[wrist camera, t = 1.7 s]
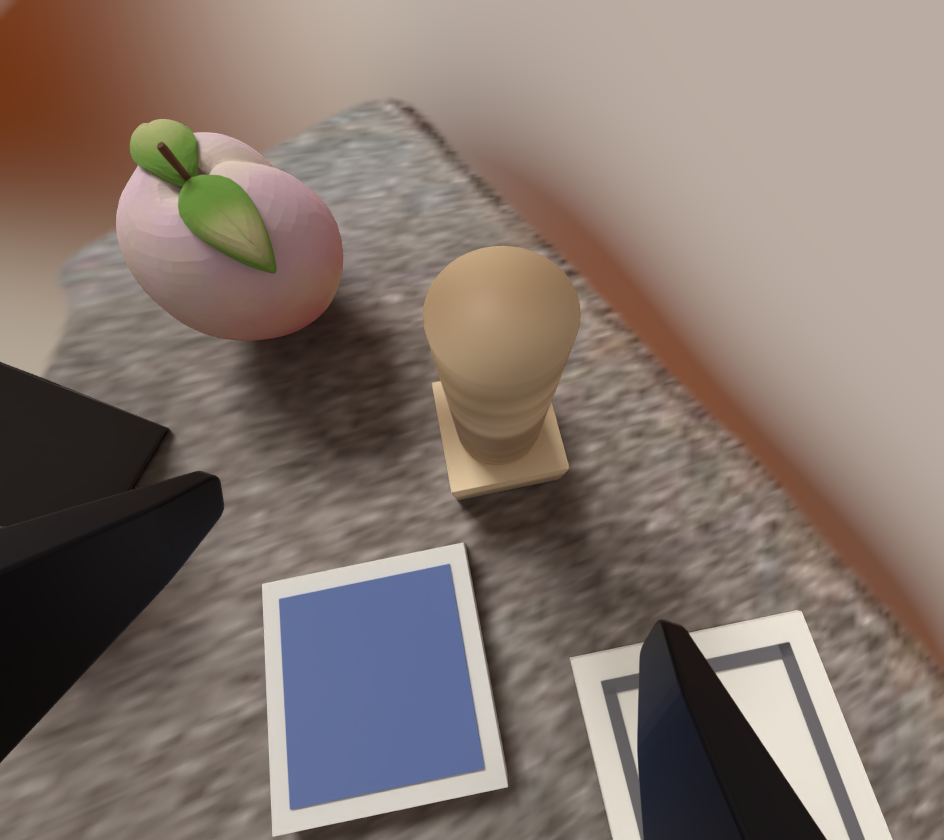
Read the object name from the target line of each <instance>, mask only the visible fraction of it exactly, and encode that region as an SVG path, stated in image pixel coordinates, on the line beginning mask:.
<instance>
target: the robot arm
mask: <svg viewBox="0 0 944 840" xmlns="http://www.w3.org/2000/svg"><path fill="white" fill-rule="evenodd" d="M223 510H224V501H223V494H222V488H221V482H220V479H219V478H218V477H217V476H215V475H212V474H209V473H206V472H203V471H196V472H192V473H189V474H185V475H182V476H178V477H175V478H171V479H168V480H165V481H161V482H158V483H154V484H151V485H148V486H144V487H141V488H137V489H134V490H130V491H127V492H124V493H120V494H117V495H113V496H110V497H106V498H103V499H100V500H96V501H93V502H89V503H86V504H83V505H79V506H76V507H72V508H69V509H65V510H62V511H59V512H55V513H52V514H48V515H45V516H41V517H38V518H35V519H31V520H28V521H24V522H21V523H17V524H14V525H11V526H7V527H4V528H0V763H1V762H2V761H3V759H4V758H5V757H6V756H7V755H8V754H9V753H10V752H11V751H12V750H13V749H14V748H15V747H16V746H17V745H18V743H19V742H20V741H21V740H22V739H23V738H24V737H25V736H26V735H27V734H28V733H29V732H30V731H31V730H32V728H33V727H34V726H35V725H36V724H37V723H38V722H39V721H40V720H41V719H42V718H43V717H44V716H45V715H46V714H47V712H48V711H49V710H50V709H51V708H52V707H53V706H54V705H55V704H56V703H57V702H58V701H59V700H60V699H61V697H62V696H63V695H64V694H65V693H66V692H67V691H68V690H69V689H70V688H71V687H72V686H73V685H74V684H75V682H76V681H77V680H78V679H79V678H80V677H81V676H82V675H83V674H84V673H85V672H86V671H87V670H88V669H89V668H90V666H91V665H92V664H93V663H94V662H95V661H96V660H97V659H98V658H99V657H100V656H101V655H102V654H103V653H104V651H105V650H106V649H107V648H108V647H109V646H110V645H111V644H112V643H113V642H114V641H115V640H116V639H117V638H118V636H119V635H120V634H121V633H122V632H123V631H124V630H125V629H126V628H127V627H128V626H129V625H130V624H131V623H132V622H133V620H134V619H135V618H136V617H137V616H138V615H139V614H140V613H141V612H142V611H143V610H144V609H145V608H146V607H147V605H148V604H149V603H150V602H151V601H152V600H153V599H154V598H155V597H156V596H157V595H158V594H159V593H160V592H161V590H162V589H163V588H164V587H165V586H166V585H167V584H168V583H169V582H170V580H171V579H172V578H173V577H174V576H175V574H176V573H177V572H178V571H179V570H180V568H181V567H182V566H183V564H184V563H185V562H186V561H187V559H188V558H189V557H190V556H191V554H192V553H193V552H194V550H195V549H196V548H197V547H198V545H199V544H200V543H201V541H202V540H203V539H204V538H205V536H206V535H207V534H208V532H209V531H210V530H211V529H212V527H213V526H214V525H215V523H216V522H217V521H218V520H219V518H220V517H221V515H222V513H223ZM637 757H638V773H639V786H640V800H641V813H642V826H643V840H827V839H826V837H825V836H824V834H823V833H822V831H821V830H820V828H819V827H818V825H817V824H816V822H815V821H814V819H813V818H812V816H811V815H810V813H809V812H808V811H807V809H806V808H805V806H804V805H803V803H802V802H801V800H800V799H799V797H798V796H797V794H796V793H795V791H794V790H793V788H792V787H791V785H790V784H789V782H788V781H787V779H786V778H785V776H784V775H783V773H782V772H781V770H780V769H779V767H778V766H777V764H776V763H775V761H774V760H773V758H772V757H771V755H770V754H769V752H768V751H767V749H766V748H765V746H764V745H763V743H762V742H761V740H760V739H759V737H758V736H757V734H756V733H755V731H754V730H753V728H752V727H751V725H750V724H749V722H748V721H747V719H746V718H745V716H744V715H743V713H742V712H741V710H740V709H739V707H738V706H737V704H736V703H735V701H734V700H733V698H732V697H731V696H730V694H729V693H728V691H727V690H726V688H725V687H724V685H723V684H722V682H721V681H720V679H719V678H718V676H717V675H716V673H715V672H714V670H713V669H712V667H711V666H710V664H709V663H708V661H707V660H706V658H705V657H704V655H703V654H702V652H701V651H700V649H699V648H698V646H697V645H696V643H695V642H694V640H693V639H692V637H691V636H690V634H689V633H688V631H687V630H686V629H685V628H684V627H683V626H681V625H679V624H676V623H672V622H669V621H666V620H659V621H657V622H656V624H655V625H654V627H653V629H652V630H651V632H650V633H649V635H648V637H647V638H646V640H645V642H644V643H643V645H642V648H641V651H640V657H639V689H638V725H637Z"/></svg>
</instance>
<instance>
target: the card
mask: <svg viewBox="0 0 944 840" xmlns="http://www.w3.org/2000/svg"><path fill="white" fill-rule="evenodd" d="M689 634H690V636H691V637H692V639H693V640H694V642H695V643H696V645H697V646H698V648H699V649H700V651H701V652H702V654H703V655H704V657H705V658H706V660H707V661H708V663H709V664H710V666H711V667H712V669H713V670H714V672H715V673H716V675H717V676H718V678H719V679H720V681H721V682H722V684H723V685H724V687H725V688H726V690H727V691H728V693H729V694H730V696H731V697H732V698H733V700H734V701H735V703H736V704H737V706H738V707H739V709H740V710H741V712H742V713H743V715H744V716H745V718H746V719H747V721H748V722H749V724H750V725H751V727H752V728H753V730H754V731H755V733H756V734H757V736H758V737H759V739H760V740H761V742H762V743H763V745H764V746H765V748H766V749H767V751H768V752H769V754H770V755H771V757H772V758H773V760H774V761H775V763H776V764H777V766H778V767H779V769H780V770H781V772H782V773H783V775H784V776H785V778H786V779H787V781H788V782H789V784H790V785H791V787H792V788H793V790H794V791H795V793H796V794H797V796H798V797H799V799H800V800H801V802H802V803H803V805H804V806H805V808H806V809H807V811H808V812H809V813H810V815H811V816H812V818H813V819H814V821H815V822H816V824H817V825H818V827H819V828H820V830H821V831H822V833H823V834H824V836H825V837H826V839H827V840H892V837H891V835H890V832H889V830H888V827H887V825H886V822H885V820H884V817H883V815H882V812H881V810H880V807H879V805H878V802H877V800H876V797H875V795H874V792H873V790H872V787H871V785H870V782H869V780H868V777H867V775H866V772H865V770H864V767H863V765H862V762H861V760H860V757H859V755H858V752H857V750H856V747H855V744H854V742H853V739H852V737H851V734H850V732H849V729H848V727H847V724H846V722H845V719H844V717H843V714H842V712H841V709H840V707H839V704H838V702H837V699H836V697H835V694H834V692H833V689H832V687H831V684H830V682H829V679H828V677H827V674H826V672H825V669H824V667H823V664H822V662H821V659H820V657H819V654H818V652H817V649H816V647H815V644H814V642H813V639H812V637H811V634H810V632H809V629H808V627H807V624H806V621H805V619H804V616H803V614H802V611H798V610H796V611H791V612H786V613H781V614H777V615H772V616H767V617H762V618H757V619H753V620H748V621H743V622H738V623H733V624H729V625H724V626H719V627H714V628H709V629H705V630H700V631H695V632H690V633H689ZM643 643H644V642H642V643H637V644H633V645H628V646H623V647H618V648H614V649H609V650H604V651H599V652H594V653H590V654H585V655H580V656H575V657H570V662H571V666H572V671H573V675H574V679H575V683H576V688H577V692H578V696H579V700H580V704H581V709H582V713H583V717H584V721H585V725H586V730H587V734H588V738H589V742H590V747H591V751H592V755H593V759H594V763H595V768H596V772H597V776H598V780H599V784H600V789H601V793H602V797H603V801H604V806H605V810H606V814H607V818H608V822H609V827H610V831H611V835H612V839H613V840H643V826H642V813H641V800H640V786H639V773H638V757H637V725H638V689H639V657H640V651H641V648H642V645H643Z"/></svg>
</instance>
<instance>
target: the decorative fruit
mask: <svg viewBox="0 0 944 840" xmlns="http://www.w3.org/2000/svg"><path fill="white" fill-rule="evenodd" d="M130 152H131V156H132V158H133V160H134V162H136V163H137V164H138V167H137V169H136V170H135V172H134V173H133V175H132V177H131V178H130V180H129V182H128V183H127V185H126V187H125V189H124V191H123V192H122V195H121V198H120V201H119V205H118V210H117V219H116V228H117V236H118V241H119V246H120V249H121V251H122V254H123V257H124V259H125V262H126V263H127V265H128V267H129V269H130V271H131V273H132V274H133V276H134V277H135V279H136V280H137V281H138V283H139V284H140V285H141V287H142V288H143V289H144V290H145V291H146V293H147V294H148V295H149V296H150V297H151V298H152V299H153V300H154V301H155V302H156V303H158V304H159V305H160V306H161V307H162V308H163V309H164V310H165V311H167V312H168V313H169V314H170V315H172V316H173V317H174V318H176V319H177V320H179V321H180V322H182V323H183V324H185V325H187V326H189V327H191V328H193V329H195V330H197V331H199V332H202V333H204V334H208V335H211V336H214V337H218V338H223V339H230V340H240V341H255V340H265V339H272V338H277V337H281V336H285V335H288V334H291V333H294V332H296V331H298V330H300V329H302V328H304V327H306V326H307V325H309V324H310V323H312V322H313V321H315V320H316V319H317V318H318V317H319V316H320V315H321V314H322V313H323V312H324V311H325V310H326V309H327V308H328V307H329V305H330V304H331V302H332V300H333V298H334V296H335V294H336V293H337V290H338V287H339V284H340V281H341V276H342V270H343V248H342V240H341V236H340V233H339V229H338V226H337V223H336V221H335V219H334V217H333V216H332V214H331V212H330V210H329V208H328V207H327V206H326V204H325V203H324V202H323V201H322V199H321V198H320V197H319V196H318V195H317V194H316V193H315V192H314V191H312V190H311V189H310V188H309V187H307V186H306V185H305V184H303V183H302V182H300V181H299V180H298V179H296V178H294V177H293V176H291V175H290V174H288V173H286V172H283V171H281V170H279V169H276V168H274V166H273V165H272V164H271V163H270V162H269V161H268V160H267V159H266V158H264V157H263V156H262V155H261V154H259V153H258V152H257V151H255V150H254V149H252V148H251V147H249V146H248V145H246V144H245V143H242V142H241V141H239V140H237V139H234V138H232V137H229V136H225V135H222V134H218V133H204V132H199V133H193V132H192V131H191V130H190V129H189V128H188V127H186V126H185V125H183V124H181V123H179V122H176V121H172V120H168V119H159V120H154V121H152V122H151V123H143V124H141V125H140V126H139V127H138V128H137V129H136V130H135V131H134V133H133V135H132V137H131V141H130Z"/></svg>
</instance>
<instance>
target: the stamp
mask: <svg viewBox="0 0 944 840" xmlns="http://www.w3.org/2000/svg"><path fill="white" fill-rule="evenodd" d="M423 321H424V328H425V332H426V336H427V339H428V342H429V345H430V349H431V352H432V355H433V358H434V361H435V365H436V368H437V371H438V374H439V377H440V380H441V381H438V382H433V383H432V387H433V393H434V398H435V404H436V409H437V415H438V420H439V426H440V431H441V437H442V442H443V448H444V454H445V459H446V465H447V470H448V476H449V481H450V487H451V492H452V494H453V495H454V497H455V498H456V499H457V501H458V500H463V499H468V498H473V497H478V496H483V495H488V494H493V493H497V492H502V491H507V490H512V489H517V488H522V487H527V486H532V485H537V484H541V483H546V482H551V481H556V480H559V479H560V478H561V477H562V476H563V475H564V474H565V473H566V472H567V471H568V469H569V464H568V461H567V457H566V453H565V450H564V446H563V442H562V439H561V435H560V431H559V427H558V424H557V420H556V416H555V413H554V409H553V405H552V402H551V401H552V399H553V396H554V393H555V391H556V388H557V386H558V383H559V380H560V378H561V375H562V372H563V370H564V367H565V365H566V362H567V359H568V357H569V354H570V352H571V349H572V346H573V344H574V341H575V338H576V336H577V333H578V329H579V325H580V304H579V300H578V296H577V293H576V291H575V288H574V286H573V284H572V283H571V281H570V279H569V278H568V277H567V275H566V274H565V273H564V272H563V271H562V270H561V269H560V268H559V267H558V266H557V265H556V264H555V263H553V262H552V261H551V260H549V259H547V258H546V257H544V256H542V255H540V254H538V253H536V252H533V251H530V250H527V249H524V248H518V247H511V246H493V247H486V248H482V249H478V250H475V251H472V252H469V253H467V254H465V255H463V256H461V257H459V258H457V259H456V260H454V261H453V262H451V263H450V264H449V265H448V266H447V267H445V268H444V269H443V270H442V271H441V273H440V274H439V275H438V276H437V277H436V279H435V280H434V282H433V283H432V285H431V287H430V289H429V291H428V293H427V296H426V299H425V304H424V309H423Z"/></svg>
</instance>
